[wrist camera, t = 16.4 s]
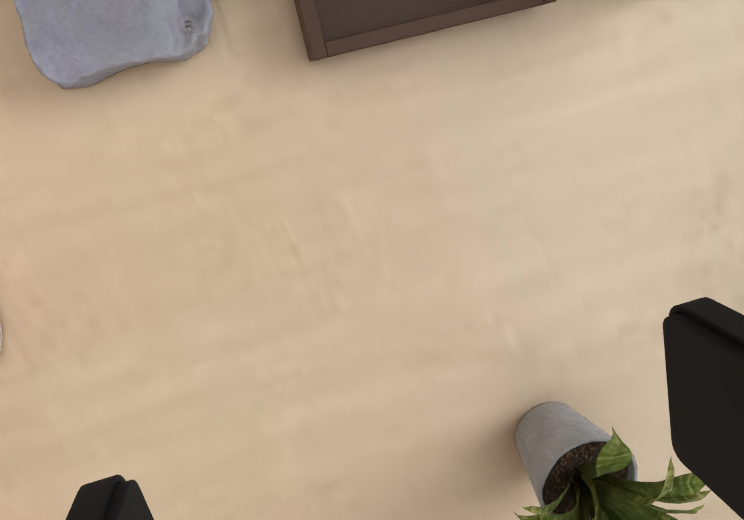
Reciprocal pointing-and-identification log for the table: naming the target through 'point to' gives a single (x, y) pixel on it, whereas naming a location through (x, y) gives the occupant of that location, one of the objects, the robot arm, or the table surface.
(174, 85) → the table surface
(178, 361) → the table surface
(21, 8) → the stone block
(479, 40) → the table surface
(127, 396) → the table surface
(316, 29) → the tray
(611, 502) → the house plant
